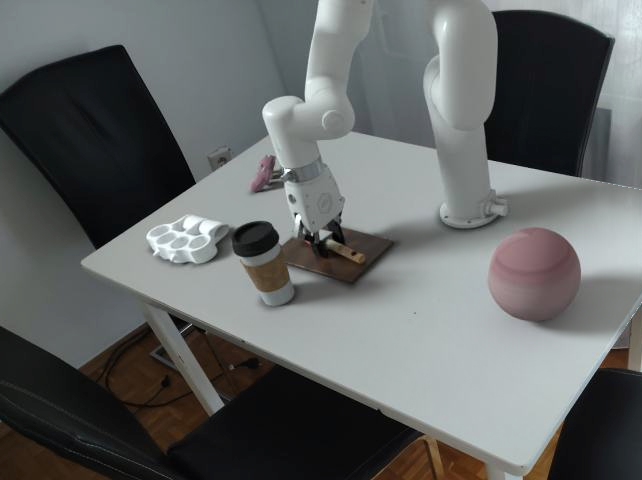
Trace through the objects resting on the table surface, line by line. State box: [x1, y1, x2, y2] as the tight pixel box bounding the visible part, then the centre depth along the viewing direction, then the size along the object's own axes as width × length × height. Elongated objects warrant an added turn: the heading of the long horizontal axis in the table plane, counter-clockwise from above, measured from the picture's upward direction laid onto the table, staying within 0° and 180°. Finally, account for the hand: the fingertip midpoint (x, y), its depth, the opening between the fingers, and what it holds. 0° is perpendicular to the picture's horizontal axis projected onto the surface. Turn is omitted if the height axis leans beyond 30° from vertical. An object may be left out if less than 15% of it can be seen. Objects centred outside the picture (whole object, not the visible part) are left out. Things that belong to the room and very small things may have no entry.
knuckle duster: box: [146, 214, 230, 265], centre depth 138 cm, size 3×18×15 cm
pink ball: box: [486, 226, 582, 322], centre depth 103 cm, size 15×15×15 cm
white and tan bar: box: [291, 228, 366, 264], centre depth 128 cm, size 4×3×20 cm
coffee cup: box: [230, 220, 295, 307], centre depth 116 cm, size 8×8×15 cm
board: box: [281, 224, 395, 286], centre depth 129 cm, size 22×14×1 cm, turn 57°
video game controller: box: [249, 154, 277, 193], centre depth 153 cm, size 10×5×7 cm, turn 179°
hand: (329, 247), depth 129 cm, fingers open, 4 cm apart
